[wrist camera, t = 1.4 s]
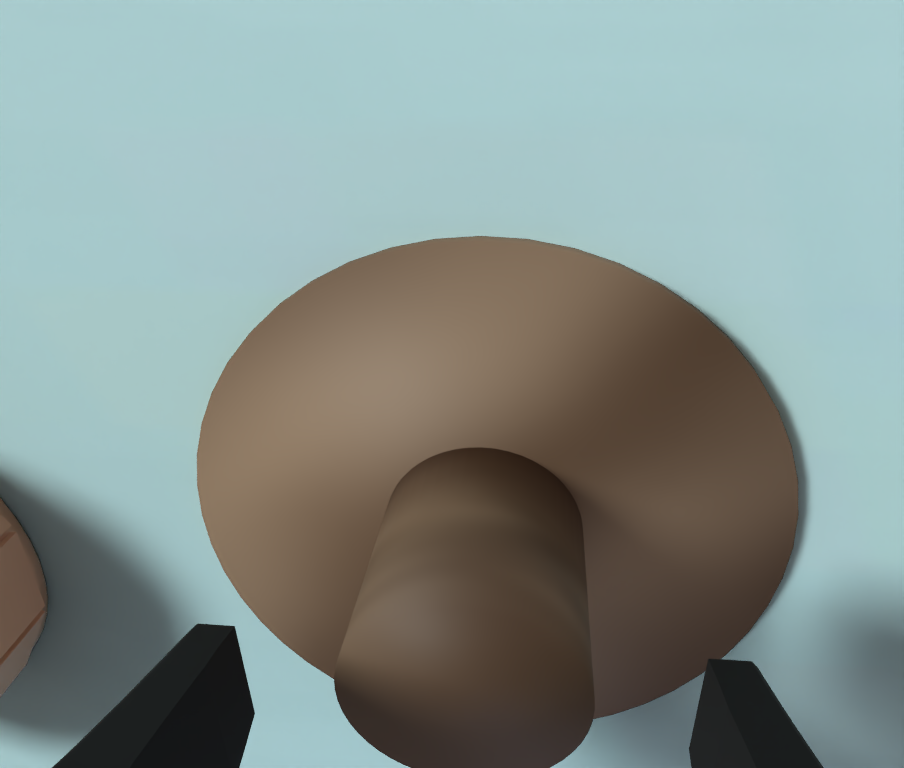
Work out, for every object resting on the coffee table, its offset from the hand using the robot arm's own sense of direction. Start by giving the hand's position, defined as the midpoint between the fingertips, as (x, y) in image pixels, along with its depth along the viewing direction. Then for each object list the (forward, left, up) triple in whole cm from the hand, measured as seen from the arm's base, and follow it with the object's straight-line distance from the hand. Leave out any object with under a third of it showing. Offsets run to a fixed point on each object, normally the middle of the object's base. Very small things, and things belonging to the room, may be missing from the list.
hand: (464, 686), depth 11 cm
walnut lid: (0, 0, -4) cm, 4 cm away
